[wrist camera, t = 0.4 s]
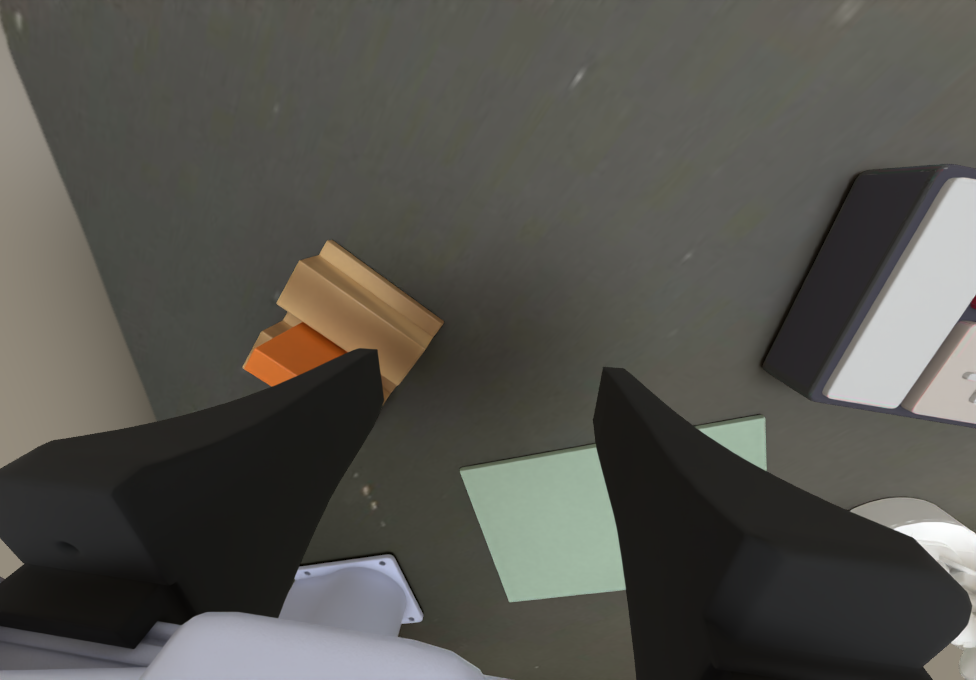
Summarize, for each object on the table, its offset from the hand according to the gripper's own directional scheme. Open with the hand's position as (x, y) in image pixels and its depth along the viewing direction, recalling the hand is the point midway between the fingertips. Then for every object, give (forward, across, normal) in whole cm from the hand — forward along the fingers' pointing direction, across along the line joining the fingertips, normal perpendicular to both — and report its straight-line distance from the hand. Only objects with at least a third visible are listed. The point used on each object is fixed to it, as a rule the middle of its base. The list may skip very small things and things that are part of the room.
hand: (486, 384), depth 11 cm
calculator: (+12, -23, 0) cm, 26 cm away
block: (+9, +10, +4) cm, 14 cm away
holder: (+10, +10, +4) cm, 14 cm away
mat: (+9, -9, +17) cm, 21 cm away
